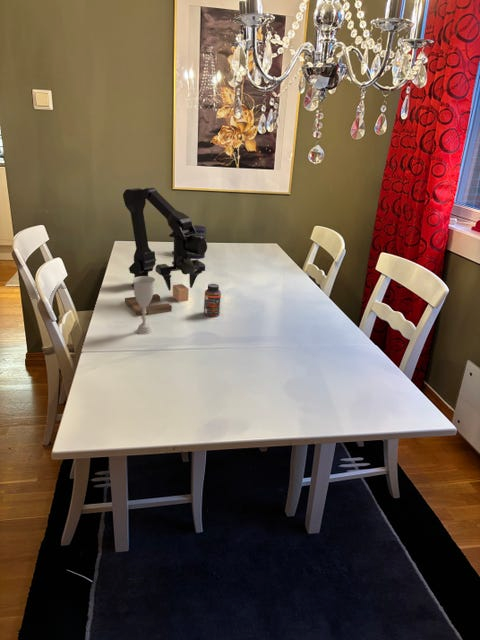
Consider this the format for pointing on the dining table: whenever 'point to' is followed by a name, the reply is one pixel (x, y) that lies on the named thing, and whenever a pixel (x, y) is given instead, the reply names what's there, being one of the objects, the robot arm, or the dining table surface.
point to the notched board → (154, 309)
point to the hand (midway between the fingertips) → (180, 288)
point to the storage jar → (201, 232)
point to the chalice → (143, 299)
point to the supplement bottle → (212, 300)
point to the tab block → (180, 292)
